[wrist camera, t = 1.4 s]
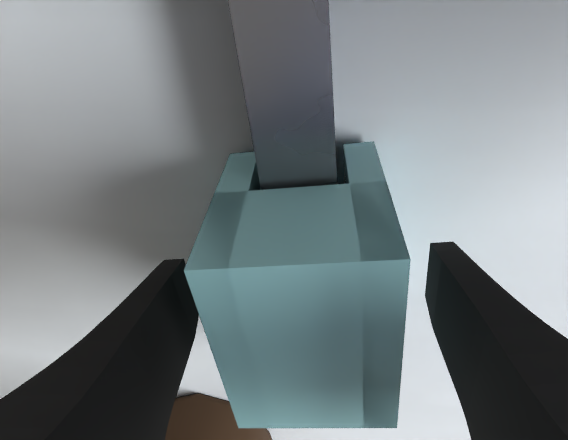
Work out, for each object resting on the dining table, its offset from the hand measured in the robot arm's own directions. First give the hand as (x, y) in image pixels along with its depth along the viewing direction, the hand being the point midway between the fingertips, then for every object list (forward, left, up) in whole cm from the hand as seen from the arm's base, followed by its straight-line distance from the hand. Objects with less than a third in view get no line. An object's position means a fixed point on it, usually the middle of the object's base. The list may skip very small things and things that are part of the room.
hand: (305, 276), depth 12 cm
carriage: (0, 0, -3) cm, 3 cm away
